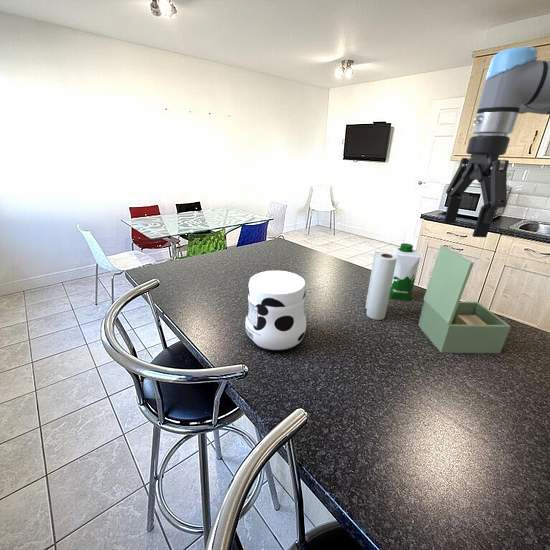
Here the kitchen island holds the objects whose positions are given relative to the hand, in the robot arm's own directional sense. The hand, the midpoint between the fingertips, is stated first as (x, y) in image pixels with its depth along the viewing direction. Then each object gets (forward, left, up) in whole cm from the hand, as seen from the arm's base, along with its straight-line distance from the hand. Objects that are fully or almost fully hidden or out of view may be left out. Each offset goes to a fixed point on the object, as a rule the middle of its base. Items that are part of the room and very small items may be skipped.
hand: (462, 229), depth 73 cm
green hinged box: (-7, -2, -33) cm, 34 cm away
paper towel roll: (+16, -8, -33) cm, 38 cm away
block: (-10, -3, -32) cm, 34 cm away
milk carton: (+8, -24, -33) cm, 42 cm away
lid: (0, 0, -15) cm, 15 cm away
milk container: (+44, +15, -33) cm, 57 cm away
